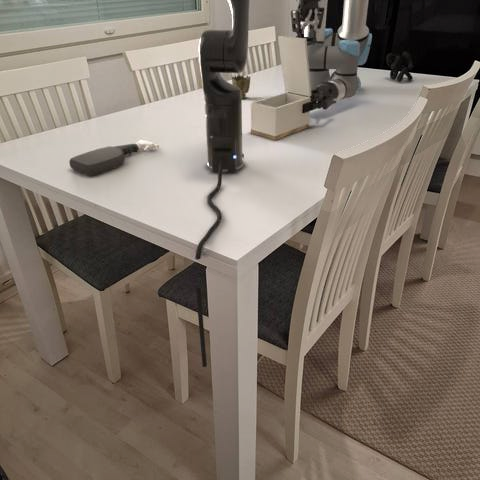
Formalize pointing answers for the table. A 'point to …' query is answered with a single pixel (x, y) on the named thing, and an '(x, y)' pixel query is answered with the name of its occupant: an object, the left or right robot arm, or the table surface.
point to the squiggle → (399, 66)
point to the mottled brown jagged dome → (242, 84)
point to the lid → (296, 63)
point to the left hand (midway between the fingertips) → (306, 45)
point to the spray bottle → (106, 157)
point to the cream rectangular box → (279, 115)
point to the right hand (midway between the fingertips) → (289, 105)
